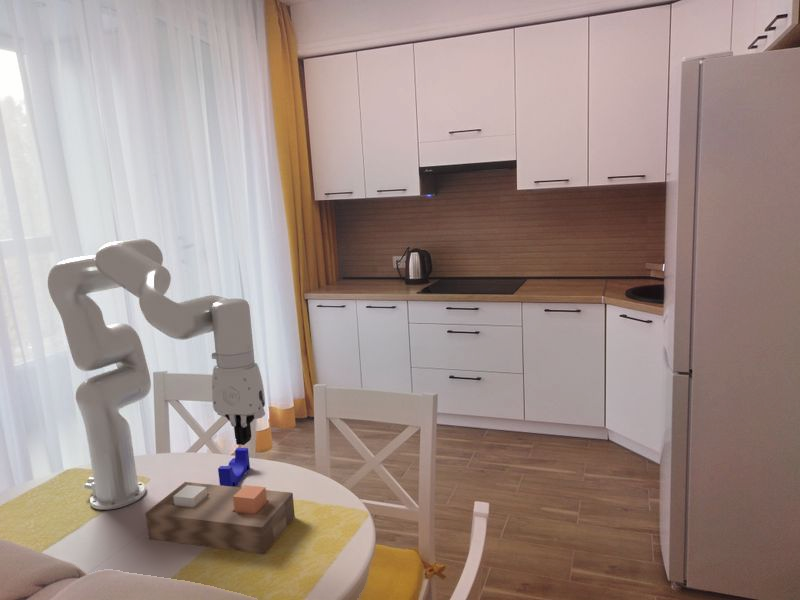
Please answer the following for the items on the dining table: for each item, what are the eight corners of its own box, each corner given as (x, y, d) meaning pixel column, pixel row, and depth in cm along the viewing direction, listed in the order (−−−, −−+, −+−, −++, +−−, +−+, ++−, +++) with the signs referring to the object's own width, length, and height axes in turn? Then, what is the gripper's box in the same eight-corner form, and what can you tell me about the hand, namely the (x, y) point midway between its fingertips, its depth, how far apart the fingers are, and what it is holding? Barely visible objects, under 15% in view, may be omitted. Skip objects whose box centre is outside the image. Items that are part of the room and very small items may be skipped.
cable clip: (234, 468, 160) (231, 447, 158) (250, 468, 159) (247, 447, 158) (214, 490, 148) (212, 468, 147) (231, 491, 147) (229, 468, 146)
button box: (148, 538, 128) (145, 513, 127) (188, 505, 141) (185, 481, 140) (264, 554, 120) (262, 527, 119) (294, 517, 134) (292, 492, 132)
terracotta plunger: (236, 528, 127) (232, 496, 125) (248, 516, 131) (245, 485, 130) (257, 531, 125) (254, 498, 124) (268, 518, 130) (265, 487, 129)
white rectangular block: (177, 527, 131) (173, 496, 130) (190, 515, 136) (187, 485, 134) (196, 529, 130) (193, 498, 128) (209, 517, 134) (206, 487, 133)
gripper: (193, 362, 120) (202, 447, 123) (259, 365, 116) (267, 452, 119) (214, 352, 127) (222, 432, 131) (276, 355, 123) (283, 437, 126)
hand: (243, 442), depth 125 cm, fingers closed
